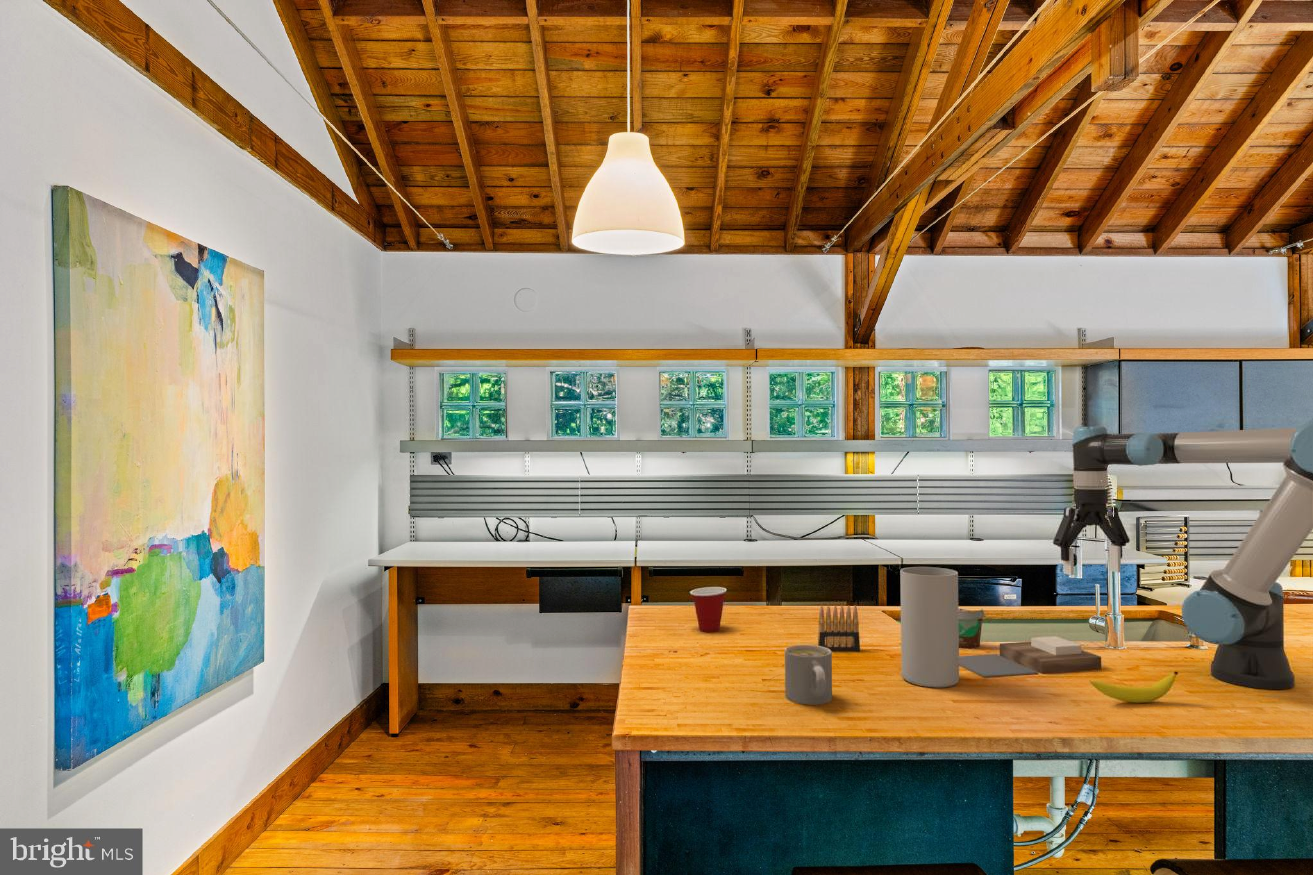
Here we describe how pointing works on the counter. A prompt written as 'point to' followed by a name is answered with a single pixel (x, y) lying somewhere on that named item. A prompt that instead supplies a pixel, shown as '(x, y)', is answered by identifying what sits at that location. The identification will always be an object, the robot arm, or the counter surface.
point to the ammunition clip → (839, 630)
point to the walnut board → (1048, 659)
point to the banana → (1136, 690)
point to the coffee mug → (808, 674)
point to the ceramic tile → (1056, 645)
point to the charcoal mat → (993, 666)
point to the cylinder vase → (929, 626)
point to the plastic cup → (709, 607)
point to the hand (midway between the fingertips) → (1092, 573)
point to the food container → (970, 628)
